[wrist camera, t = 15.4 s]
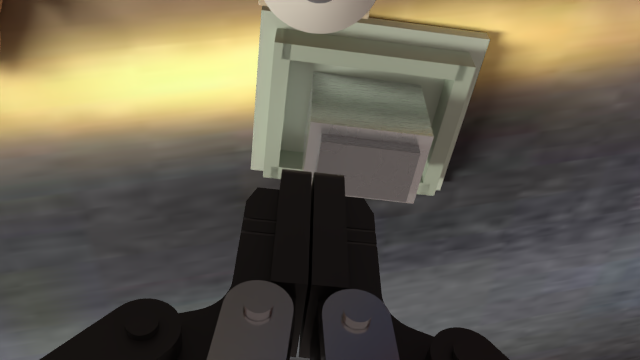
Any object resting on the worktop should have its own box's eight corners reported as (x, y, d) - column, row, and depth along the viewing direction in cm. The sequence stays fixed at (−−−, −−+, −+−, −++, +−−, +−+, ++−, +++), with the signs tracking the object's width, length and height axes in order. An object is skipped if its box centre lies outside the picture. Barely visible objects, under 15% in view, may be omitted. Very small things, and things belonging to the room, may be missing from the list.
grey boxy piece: (403, 147, 40) (414, 212, 35) (304, 136, 40) (300, 199, 34) (420, 84, 37) (436, 144, 32) (313, 71, 37) (310, 129, 31)
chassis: (437, 181, 43) (444, 208, 41) (252, 161, 42) (247, 186, 40) (486, 32, 36) (497, 54, 34) (263, 3, 35) (258, 23, 33)
